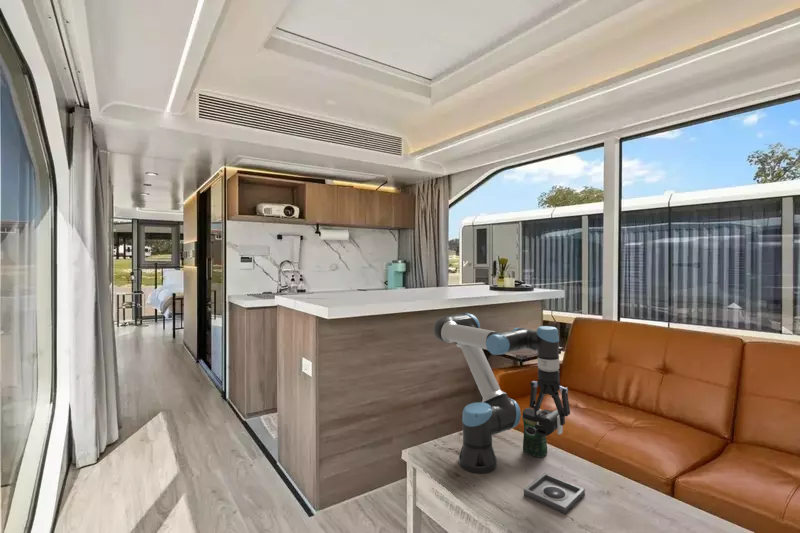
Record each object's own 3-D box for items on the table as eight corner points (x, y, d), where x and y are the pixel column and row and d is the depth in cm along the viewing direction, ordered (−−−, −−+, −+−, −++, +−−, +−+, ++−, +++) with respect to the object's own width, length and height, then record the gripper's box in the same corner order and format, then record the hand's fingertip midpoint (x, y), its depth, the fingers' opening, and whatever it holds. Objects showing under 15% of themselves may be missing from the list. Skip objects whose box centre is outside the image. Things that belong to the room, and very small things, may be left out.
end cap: (553, 438, 148) (553, 419, 148) (534, 433, 153) (534, 415, 153) (564, 429, 156) (564, 411, 156) (546, 424, 161) (545, 406, 160)
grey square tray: (523, 495, 147) (523, 489, 147) (544, 478, 157) (544, 472, 157) (565, 514, 136) (565, 507, 136) (584, 494, 146) (584, 488, 146)
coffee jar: (550, 453, 176) (549, 410, 175) (541, 460, 171) (540, 415, 170) (529, 445, 183) (528, 404, 182) (519, 452, 178) (519, 409, 177)
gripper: (518, 366, 158) (519, 426, 159) (571, 376, 144) (573, 441, 145) (527, 362, 163) (529, 420, 164) (580, 371, 149) (581, 434, 150)
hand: (549, 430), depth 154 cm, fingers closed on end cap, 7 cm apart
